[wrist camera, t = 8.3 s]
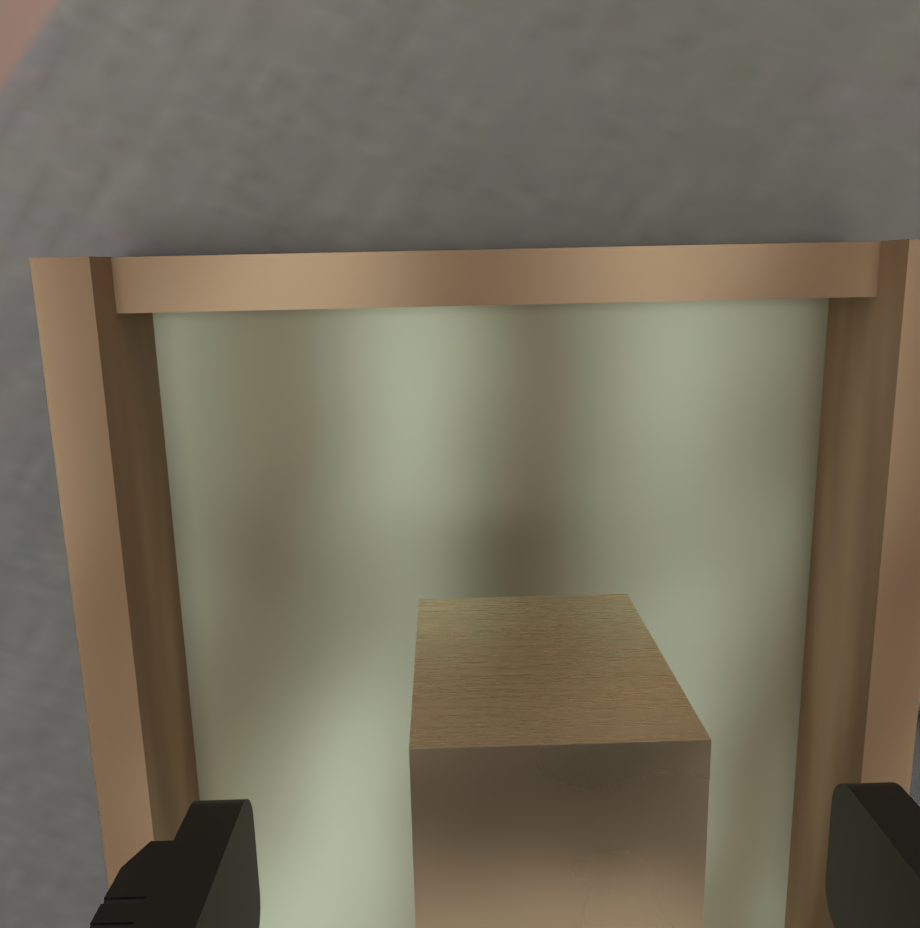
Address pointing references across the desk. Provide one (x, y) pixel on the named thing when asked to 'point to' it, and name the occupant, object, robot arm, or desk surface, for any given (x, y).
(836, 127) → the desk surface
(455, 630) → the foosball rod
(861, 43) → the desk surface
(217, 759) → the pitch
